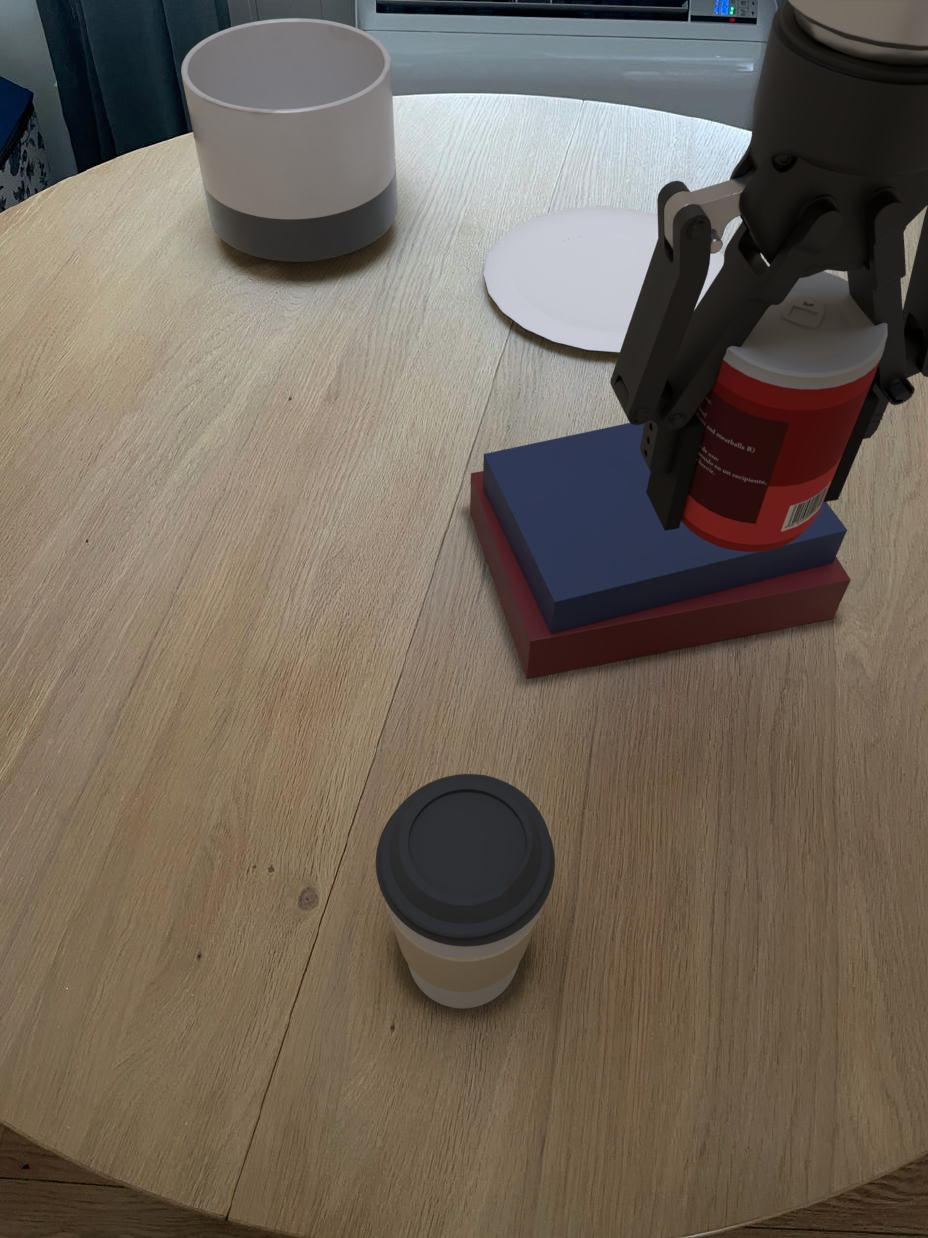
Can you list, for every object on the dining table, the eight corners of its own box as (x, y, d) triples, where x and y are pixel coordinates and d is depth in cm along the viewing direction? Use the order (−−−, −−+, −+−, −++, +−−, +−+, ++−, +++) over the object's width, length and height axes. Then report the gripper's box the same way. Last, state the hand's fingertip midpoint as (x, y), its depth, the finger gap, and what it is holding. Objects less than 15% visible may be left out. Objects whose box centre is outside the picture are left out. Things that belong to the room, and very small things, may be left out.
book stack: (833, 618, 78) (866, 547, 72) (526, 679, 75) (533, 609, 68) (743, 466, 88) (765, 392, 82) (469, 512, 85) (471, 438, 79)
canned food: (819, 458, 55) (888, 275, 46) (815, 570, 50) (891, 390, 41) (674, 434, 56) (714, 251, 47) (656, 542, 51) (698, 361, 42)
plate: (785, 313, 102) (789, 299, 101) (574, 397, 94) (576, 382, 93) (633, 196, 115) (635, 181, 114) (437, 260, 107) (437, 245, 106)
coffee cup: (360, 985, 61) (338, 877, 49) (429, 857, 66) (424, 730, 54) (501, 1055, 58) (513, 958, 47) (561, 916, 64) (586, 797, 52)
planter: (185, 219, 112) (147, 46, 98) (343, 170, 118) (329, 1, 104) (265, 310, 102) (235, 131, 88) (433, 251, 108) (430, 76, 94)
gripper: (1097, -57, 38) (892, 416, 56) (560, -5, 35) (525, 478, 53) (1234, 31, 34) (964, 514, 52) (634, 100, 31) (568, 588, 49)
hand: (742, 495), depth 53 cm, fingers closed on canned food, 8 cm apart
